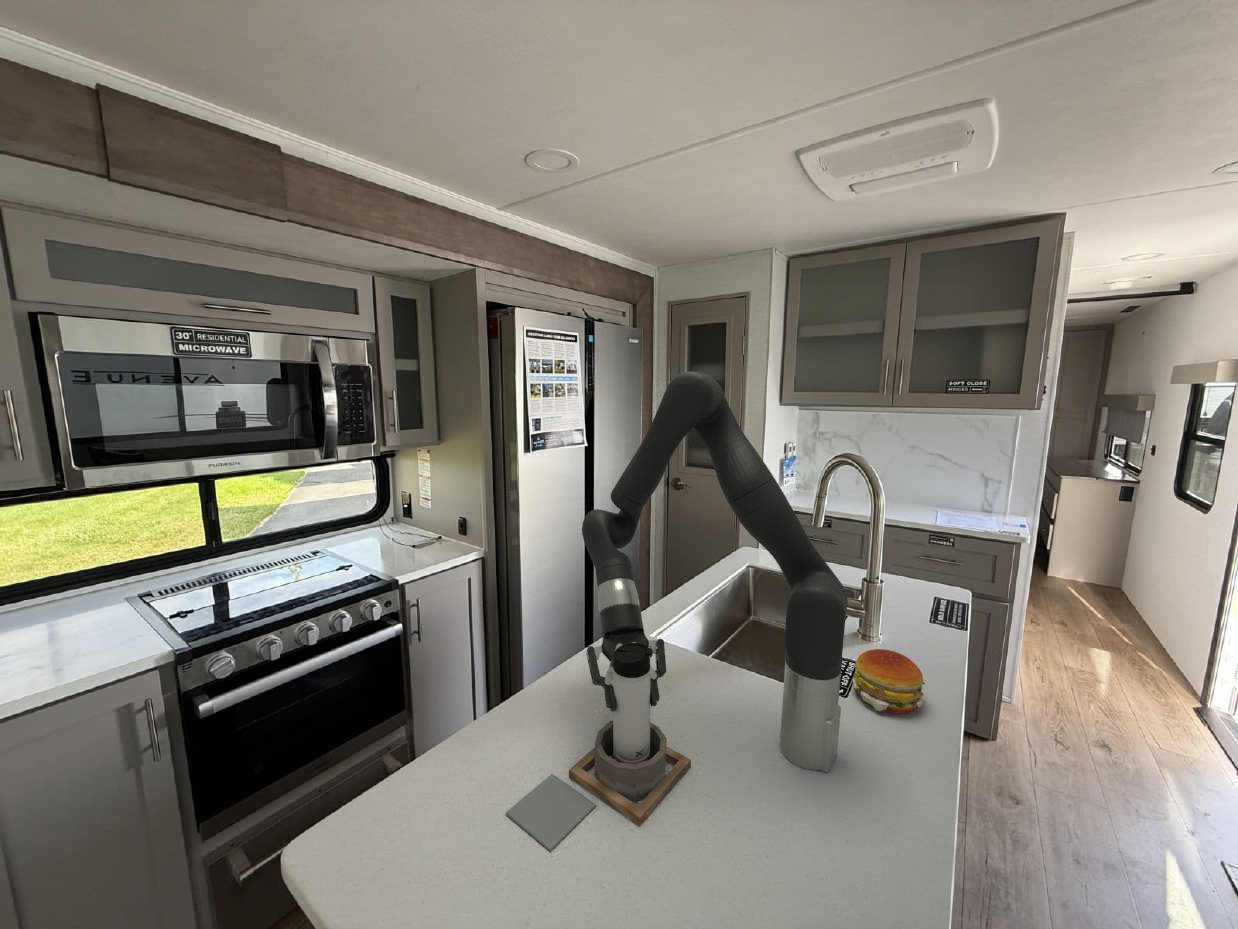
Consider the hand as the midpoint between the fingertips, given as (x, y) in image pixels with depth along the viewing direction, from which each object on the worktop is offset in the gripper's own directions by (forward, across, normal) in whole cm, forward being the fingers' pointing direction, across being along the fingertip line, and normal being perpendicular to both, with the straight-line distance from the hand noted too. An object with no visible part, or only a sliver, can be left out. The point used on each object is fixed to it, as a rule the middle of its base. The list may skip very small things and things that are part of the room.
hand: (634, 707), depth 83 cm
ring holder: (+8, 0, +11) cm, 14 cm away
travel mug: (+6, 0, +9) cm, 11 cm away
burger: (+2, +57, +18) cm, 60 cm away
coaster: (+12, -14, +7) cm, 20 cm away
